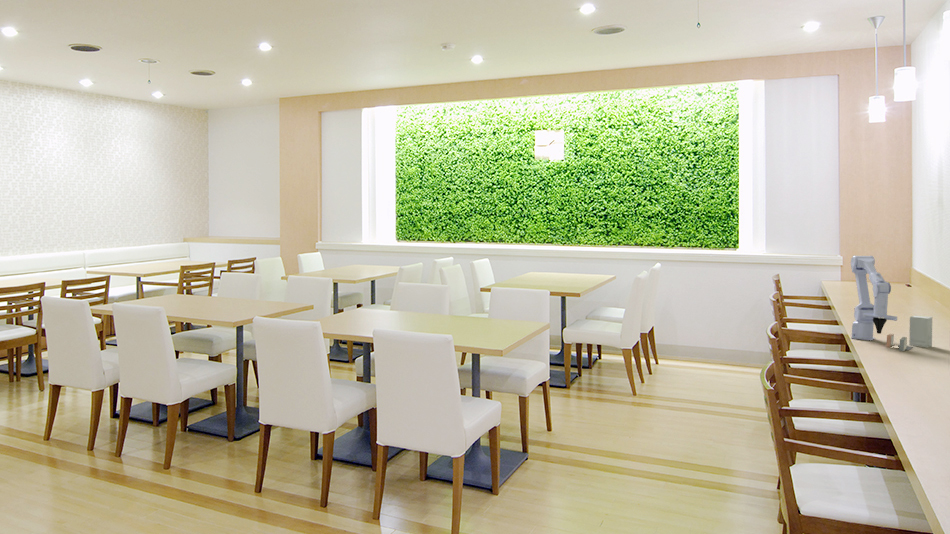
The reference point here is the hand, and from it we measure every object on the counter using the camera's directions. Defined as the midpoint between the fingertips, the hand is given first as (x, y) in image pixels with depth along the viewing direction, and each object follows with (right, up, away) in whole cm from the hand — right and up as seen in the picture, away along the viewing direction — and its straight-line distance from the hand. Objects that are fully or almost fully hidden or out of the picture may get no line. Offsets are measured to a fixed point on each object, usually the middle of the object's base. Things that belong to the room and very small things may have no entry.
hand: (879, 333), depth 334 cm
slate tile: (+4, -7, -13) cm, 15 cm away
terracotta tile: (+4, -6, -3) cm, 8 cm away
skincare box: (+19, -6, -2) cm, 20 cm away
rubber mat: (+7, -7, -6) cm, 12 cm away
